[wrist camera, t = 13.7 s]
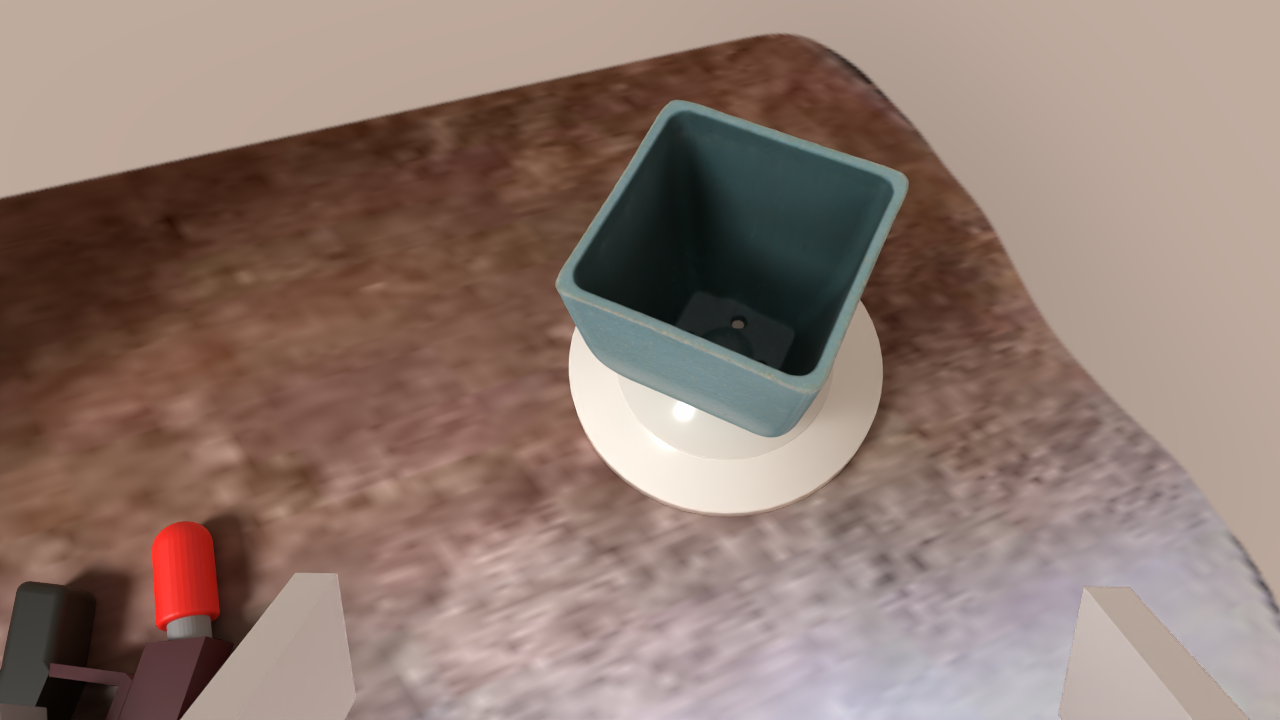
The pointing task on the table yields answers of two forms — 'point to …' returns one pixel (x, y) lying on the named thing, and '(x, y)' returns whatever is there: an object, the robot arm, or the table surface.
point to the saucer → (727, 434)
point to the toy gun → (168, 671)
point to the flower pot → (730, 264)
